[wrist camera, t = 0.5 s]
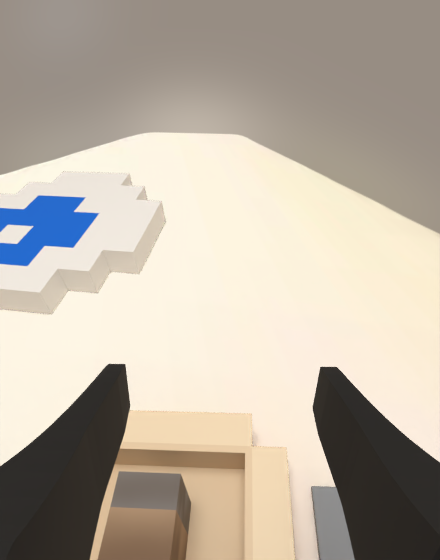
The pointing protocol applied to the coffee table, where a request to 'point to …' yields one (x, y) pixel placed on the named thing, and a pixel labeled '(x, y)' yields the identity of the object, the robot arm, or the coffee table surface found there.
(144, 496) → the walnut block
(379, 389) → the coffee table surface
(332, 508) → the slate mat
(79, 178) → the pixel art tile
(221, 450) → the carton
